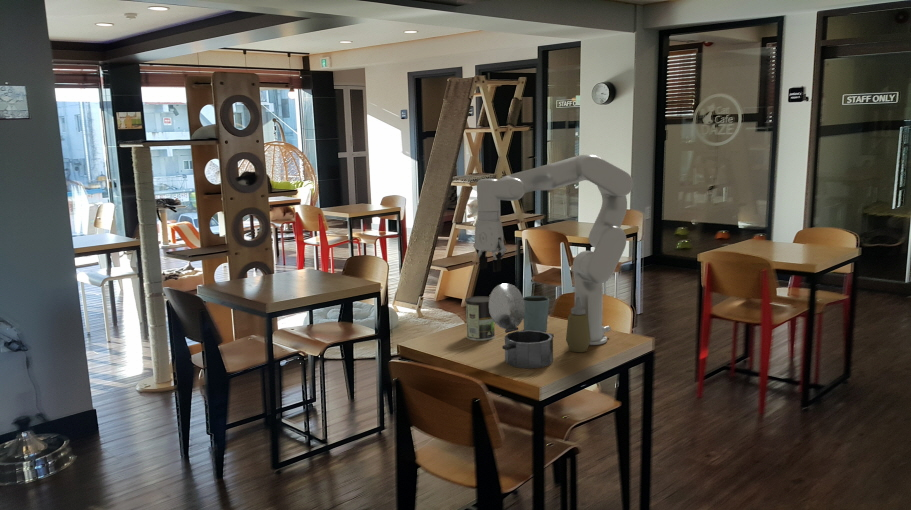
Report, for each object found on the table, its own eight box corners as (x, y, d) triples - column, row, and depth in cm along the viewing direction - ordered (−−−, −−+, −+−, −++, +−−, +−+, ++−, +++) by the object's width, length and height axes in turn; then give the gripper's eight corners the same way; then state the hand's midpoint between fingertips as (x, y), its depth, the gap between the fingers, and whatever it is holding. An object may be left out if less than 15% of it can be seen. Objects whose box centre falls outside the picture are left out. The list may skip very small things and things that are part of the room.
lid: (529, 327, 236) (523, 327, 238) (520, 280, 236) (514, 281, 239) (495, 335, 227) (490, 336, 229) (486, 287, 227) (480, 288, 230)
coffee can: (496, 333, 260) (496, 296, 258) (492, 341, 250) (491, 302, 248) (469, 332, 262) (468, 295, 260) (464, 340, 252) (463, 302, 250)
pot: (534, 349, 239) (534, 326, 238) (568, 359, 227) (568, 335, 226) (488, 362, 227) (487, 338, 225) (521, 373, 215) (521, 348, 213)
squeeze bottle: (585, 355, 231) (585, 301, 228) (562, 351, 235) (561, 299, 233) (594, 348, 238) (594, 296, 235) (571, 345, 242) (571, 294, 239)
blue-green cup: (517, 331, 262) (517, 299, 260) (529, 325, 270) (529, 294, 268) (542, 334, 256) (542, 302, 254) (553, 328, 265) (553, 296, 263)
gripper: (463, 215, 238) (465, 268, 241) (498, 219, 224) (499, 274, 227) (480, 213, 242) (481, 265, 245) (515, 217, 229) (516, 271, 232)
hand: (490, 269), depth 236 cm, fingers open, 6 cm apart
